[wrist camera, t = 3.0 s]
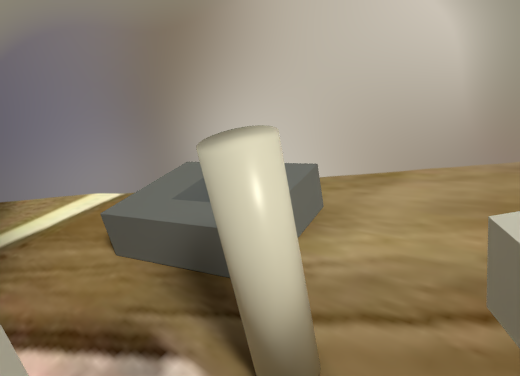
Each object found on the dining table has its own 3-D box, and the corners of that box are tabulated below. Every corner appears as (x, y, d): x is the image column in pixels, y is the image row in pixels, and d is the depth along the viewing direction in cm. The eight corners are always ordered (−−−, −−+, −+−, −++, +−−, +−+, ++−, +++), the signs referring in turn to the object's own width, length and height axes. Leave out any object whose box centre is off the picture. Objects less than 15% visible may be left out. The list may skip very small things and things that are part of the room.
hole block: (116, 255, 43) (100, 213, 41) (196, 196, 54) (187, 161, 52) (260, 283, 34) (248, 231, 32) (323, 206, 44) (317, 163, 42)
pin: (244, 384, 25) (178, 153, 19) (274, 338, 28) (226, 126, 22) (304, 406, 23) (251, 153, 17) (329, 353, 26) (292, 124, 20)
